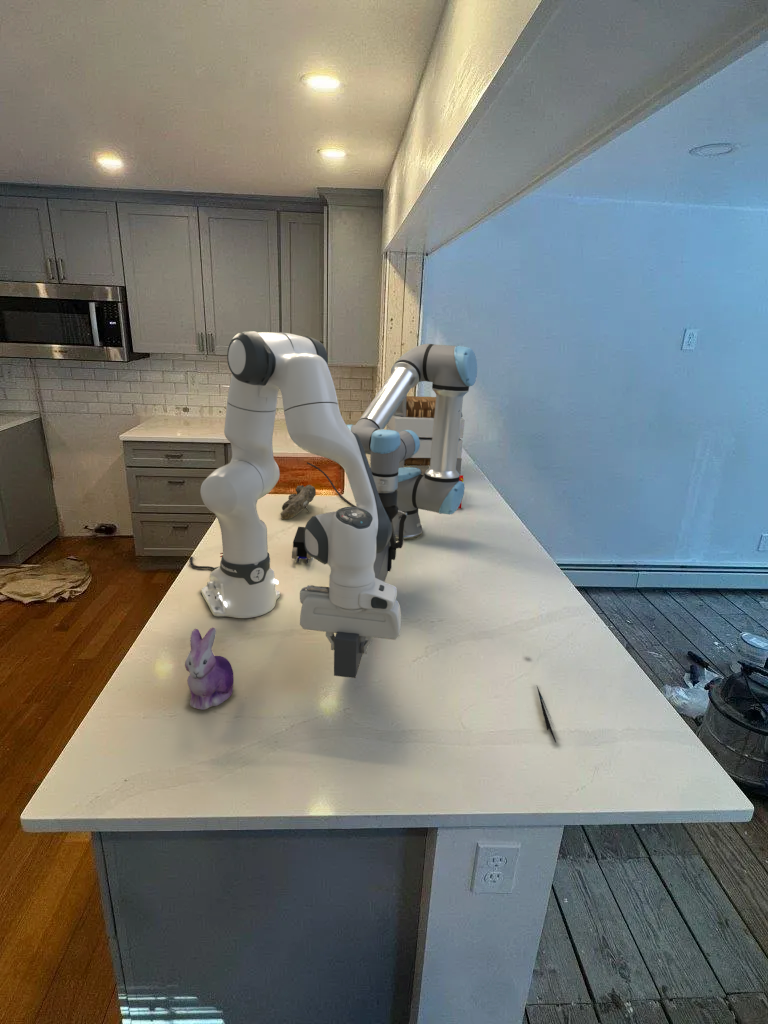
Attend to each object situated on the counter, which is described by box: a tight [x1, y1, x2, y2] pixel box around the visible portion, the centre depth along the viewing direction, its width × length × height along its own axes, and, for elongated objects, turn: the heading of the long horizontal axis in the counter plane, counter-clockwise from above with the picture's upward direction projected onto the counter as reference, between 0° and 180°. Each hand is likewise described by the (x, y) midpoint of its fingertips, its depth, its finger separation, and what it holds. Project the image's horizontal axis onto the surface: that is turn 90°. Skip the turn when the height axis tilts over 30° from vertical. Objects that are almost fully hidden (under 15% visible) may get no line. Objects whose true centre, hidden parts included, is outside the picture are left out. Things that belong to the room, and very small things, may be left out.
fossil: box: [280, 484, 317, 520], centre depth 215 cm, size 22×10×15 cm
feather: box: [527, 657, 557, 743], centre depth 118 cm, size 2×28×2 cm
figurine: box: [184, 626, 234, 711], centre depth 111 cm, size 9×10×15 cm
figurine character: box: [291, 526, 313, 564], centre depth 177 cm, size 7×8×15 cm
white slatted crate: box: [385, 394, 465, 475], centre depth 268 cm, size 34×33×41 cm
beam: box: [333, 540, 391, 679], centre depth 136 cm, size 54×4×9 cm, turn 172°
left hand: (349, 650), depth 115 cm, fingers closed on beam, 4 cm apart
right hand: (380, 568), depth 158 cm, fingers closed on beam, 4 cm apart
